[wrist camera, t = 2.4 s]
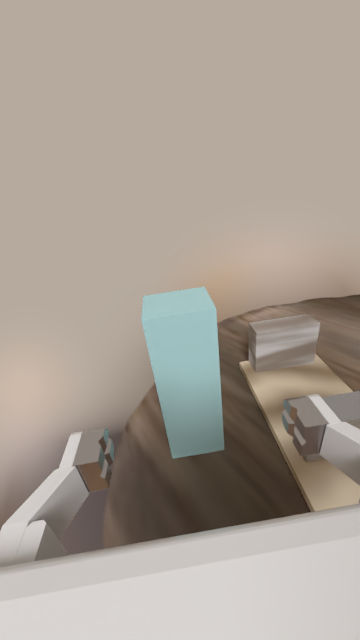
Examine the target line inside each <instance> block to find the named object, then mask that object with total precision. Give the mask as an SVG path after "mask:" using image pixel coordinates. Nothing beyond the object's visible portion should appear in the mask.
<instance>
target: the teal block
mask: <svg viewBox="0 0 360 640" xmlns="http://www.w3.org/2000/svg"><path fill="white" fill-rule="evenodd" d="M216 316H217V315H216V307H215V305H214V303H213V302H212V300H211V298H210V296H209V294H208V292H207V290H206V289H205V287H200V288H193V289H187V290H180V291H174V292H167V293H161V294H154V295H148V296H143V308H142V319H141V320H142V324H143V329H144V333H145V338H146V342H147V347H148V351H149V355H150V360H151V365H152V369H153V374H154V378H155V383H156V387H157V392H158V396H159V401H160V405H161V410H162V414H163V419H164V423H165V428H166V432H167V437H168V441H169V446H170V450H171V455H172V459H175V458H180V457H186V456H192V455H198V454H204V453H210V452H215V451H221V450H224V433H223V416H222V399H221V382H220V366H219V349H218V332H217V317H216Z"/></svg>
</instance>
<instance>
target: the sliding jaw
mask: <svg viewBox="0 0 360 640" xmlns="http://www.w3.org/2000/svg"><path fill="white" fill-rule="evenodd" d="M321 398H322V399H323V400H324V402H325V403H326V404H327V405H328V406H329V407H330V409H331V410H332V411H333V412H334V413H335V415H336V416H337V417H338V418H339V419H340V421H341V422H347V423H349V424H351V425H352V426H354V427H356V428H358V429H360V391H356V392H350V393H344V394H338V395H332V396H326V397H321ZM304 457H305V459H306V461H313V460H318V459H324V457H322V456H321V455H320V453H318V454H311V455H304Z"/></svg>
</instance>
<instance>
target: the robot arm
mask: <svg viewBox="0 0 360 640" xmlns="http://www.w3.org/2000/svg"><path fill="white" fill-rule="evenodd" d="M283 407H284V408H285V410H284V411H283V412H282V422H283V425H284V428H285V430H286V432H287V433H288V434H289V435H291V436H292V437H293V444H294V446H295V448H296V449H297V451H298V453H299V455H300V456H304V455H311V454H318V453H320V455H321V456H322V457H324V458H325V459H326V460H327V461H329V462H330V463H331V464H333V465H334V466H335V467H336V468H338V469H339V470H340V471H342V472H343V473H344V474H345V475H347V476H348V477H349V478H351V479H352V480H353V481H354V482H356V483H357V484H358V485H359V486H360V429H358V428H356V427H354V426H352V425H351V424H349V423H347V422H341V421H340V419H339V418H338V417H337V416H336V415H335V413H334V412H333V411H332V410H331V409H330V407H329V406H328V405H327V404H326V403H325V402H324V400H323V399H322V398H321V397H320V396H319V395H318V394H313V395H307V396H300V397H295V398H289V399H284V401H283ZM108 437H109V432H108V429H107V428H103V429H96V430H88V431H83V432H75V433H72V434H71V435H70V437H69V441H68V443H67V446H66V449H65V452H64V455H63V458H62V461H61V464H60V466H59V469H55V470H54V471H53V472H52V473H51V474H50V476H49V477H48V478H47V479H46V480H45V481H44V482H43V483H42V484H41V485H40V486H39V487H38V488H37V490H36V491H35V492H34V493H33V494H32V495H31V496H30V497H29V498H28V499H27V500H26V502H24V504H22V506H21V507H20V508H19V509H18V510H17V511H16V512H15V513H14V514H13V515H12V516H11V517H10V518H9V519H8V521H7V522H6V523H5V524H4V525H3V526H2V529H1V531H0V640H360V504H354V505H349V506H343V507H338V508H332V509H326V510H321V511H315V512H309V513H304V514H298V515H292V516H287V517H281V518H275V519H270V520H264V521H258V522H253V523H247V524H241V525H236V526H230V527H225V528H219V529H213V530H208V531H202V532H197V533H191V534H185V535H180V536H174V537H168V538H163V539H157V540H152V541H146V542H140V543H135V544H129V545H124V546H118V547H112V548H107V549H101V550H95V551H90V552H85V553H79V554H73V555H68V553H67V552H66V550H65V549H64V547H63V546H62V544H61V543H60V542H59V540H60V538H61V536H62V535H63V533H64V532H65V530H66V529H67V527H68V526H69V524H70V522H71V521H72V519H73V518H74V516H75V515H76V513H77V511H78V510H79V509H80V507H81V505H82V504H83V502H84V501H85V499H86V497H87V496H88V495H89V492H93V491H98V490H103V489H108V488H109V485H110V479H111V470H110V465H111V464H112V463H113V458H114V447H113V442H112V440H111V439H109V438H108ZM359 503H360V498H359Z"/></svg>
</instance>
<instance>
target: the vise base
mask: <svg viewBox="0 0 360 640" xmlns="http://www.w3.org/2000/svg"><path fill="white" fill-rule="evenodd" d="M319 329H320V322H318V321H317V320H316V319H315V318H313V317H312V316H311V315H310V314H302V315H296V316H289V317H283V318H277V319H270V320H264V321H258V322H251V323H249V361H244V362H239V365H240V369H241V371H242V373H243V375H244V377H245V379H246V381H247V383H248V385H249V387H250V389H251V391H252V393H253V395H254V397H255V400H256V402H257V404H258V406H259V408H260V410H261V412H262V414H263V416H264V418H265V420H266V422H267V424H268V426H269V428H270V430H271V432H272V434H273V436H274V438H275V440H276V442H277V444H278V446H279V448H280V450H281V452H282V454H283V456H284V458H285V460H286V462H287V465H288V467H289V469H290V471H291V473H292V475H293V477H294V479H295V481H296V483H297V485H298V487H299V489H300V491H301V493H302V495H303V497H304V499H305V501H306V503H307V505H308V507H309V509H310V511H311V512H315V511H321V510H326V509H332V508H338V507H343V506H349V505H354V504H360V503H359V498H360V486H359V485H358V484H357V483H356V482H354V481H353V480H352V479H351V478H349V477H348V476H347V475H345V474H344V473H343V472H342V471H340V470H339V469H338V468H336V467H335V466H334V465H333V464H331V463H330V462H329V461H327V460H326V459H325V458H324V459H318V460H313V461H306V459H305V457H304V456H300V455H299V453H298V451H297V449H296V448H295V446H294V444H293V437H292V436H291V435H289V434H288V433H287V432H286V430H285V428H284V425H283V422H282V412H283V411H284V410H285V408H284V407H283V401H284V399H289V398H295V397H300V396H307V395H313V394H318V395H319V396H320V397H326V396H332V395H338V394H344V393H350V392H353V391H352V390H351V389H350V388H349V387H348V386H347V385H346V384H345V383H344V382H343V381H342V380H341V379H340V378H339V377H338V376H337V375H336V374H335V373H334V372H333V371H332V370H331V369H330V368H329V367H328V366H327V365H326V364H325V363H324V362H323V361H322V360H321V359H320V358H319V357H318V356H317V355H316V354H315V353H316V347H317V341H318V335H319Z"/></svg>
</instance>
